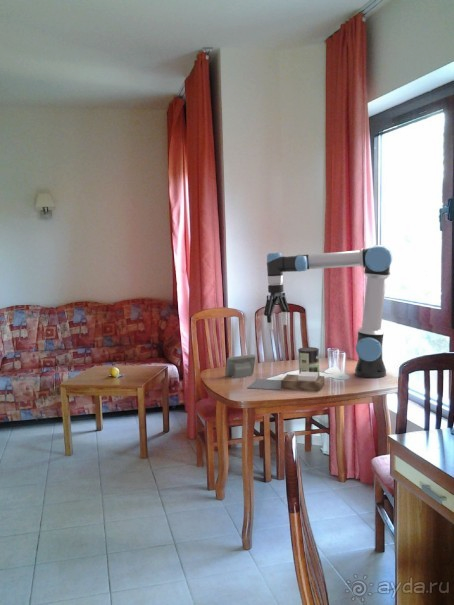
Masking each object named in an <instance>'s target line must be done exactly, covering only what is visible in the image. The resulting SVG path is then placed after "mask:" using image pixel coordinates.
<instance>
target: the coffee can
mask: <svg viewBox="0 0 454 605" xmlns="http://www.w3.org/2000/svg"><path fill="white" fill-rule="evenodd" d="M297 351H298V372H299V373H298V375H299V374H300V373H301V372H318V376H320V356H319V355H320V354H319V353H320V348H318V347H311V346H310V347H309V346H308V347H307V346H306V347H299V348H298V350H297Z"/></svg>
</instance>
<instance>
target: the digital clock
mask: <svg viewBox="0 0 454 605" xmlns="http://www.w3.org/2000/svg"><path fill="white" fill-rule="evenodd" d="M255 365H256V354H246V355H239V356H229V357H227V358H226V364H225V375H224V376H225V377H233V376H234V377H233V378H234V379H238V378H239V379H240V378H246V377H247V376H248V377H252V376H253V373H254V372H255ZM248 377H247V378H248Z"/></svg>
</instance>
